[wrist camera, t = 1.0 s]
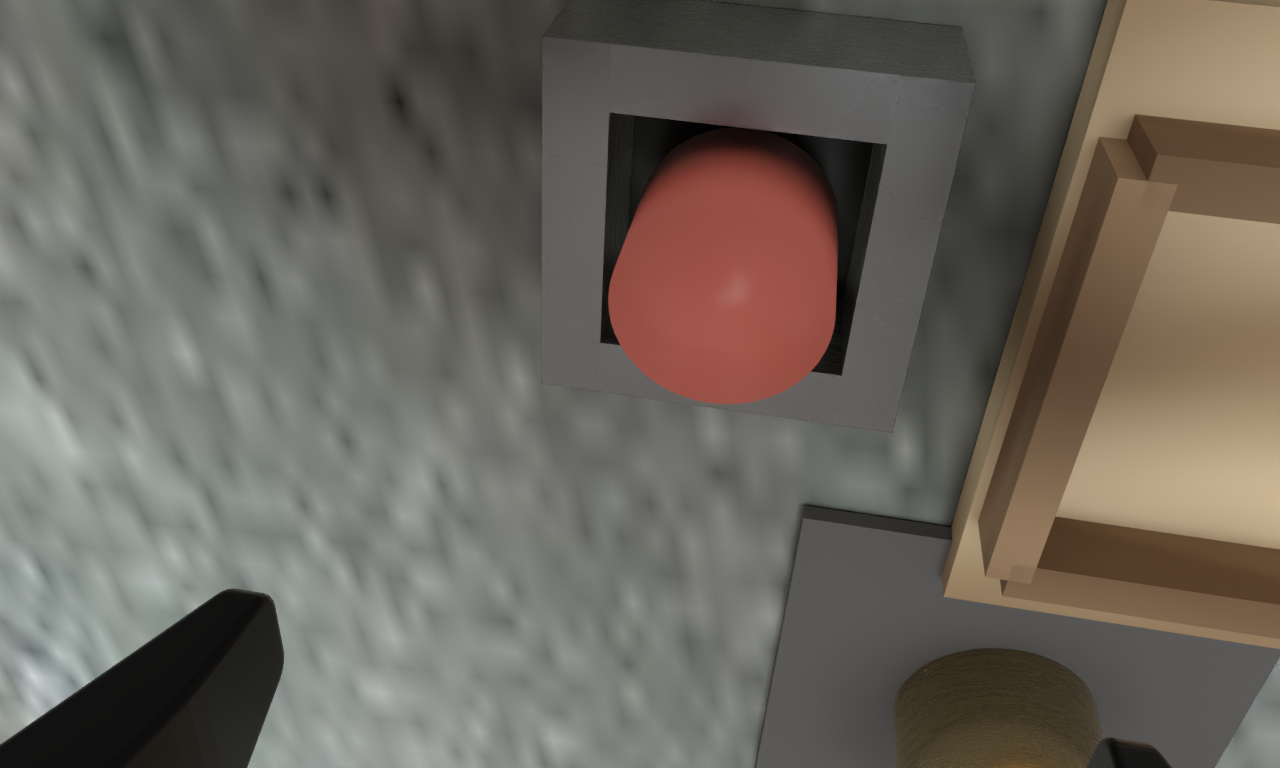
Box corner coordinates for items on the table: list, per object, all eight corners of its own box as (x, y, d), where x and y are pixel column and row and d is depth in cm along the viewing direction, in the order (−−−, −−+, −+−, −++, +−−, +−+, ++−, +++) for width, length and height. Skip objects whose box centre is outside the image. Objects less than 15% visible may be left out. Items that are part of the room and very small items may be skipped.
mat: (1146, 863, 28) (1149, 877, 27) (750, 793, 29) (748, 806, 28) (1308, 580, 22) (1316, 595, 21) (804, 505, 23) (803, 518, 22)
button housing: (888, 351, 20) (892, 433, 18) (571, 309, 21) (541, 382, 19) (961, 27, 17) (975, 83, 15) (579, -12, 17) (542, 36, 15)
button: (822, 319, 18) (817, 417, 16) (634, 295, 19) (604, 387, 16) (854, 140, 17) (853, 223, 14) (645, 116, 17) (613, 193, 15)
